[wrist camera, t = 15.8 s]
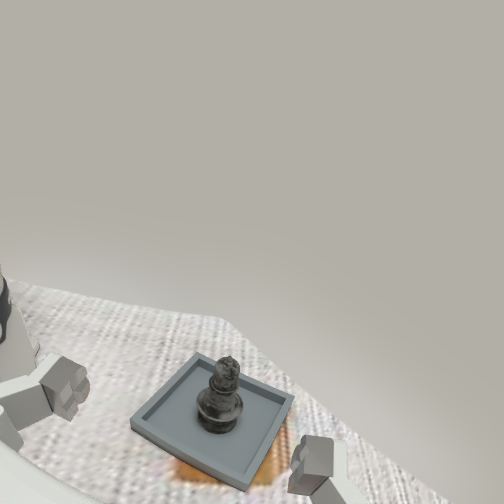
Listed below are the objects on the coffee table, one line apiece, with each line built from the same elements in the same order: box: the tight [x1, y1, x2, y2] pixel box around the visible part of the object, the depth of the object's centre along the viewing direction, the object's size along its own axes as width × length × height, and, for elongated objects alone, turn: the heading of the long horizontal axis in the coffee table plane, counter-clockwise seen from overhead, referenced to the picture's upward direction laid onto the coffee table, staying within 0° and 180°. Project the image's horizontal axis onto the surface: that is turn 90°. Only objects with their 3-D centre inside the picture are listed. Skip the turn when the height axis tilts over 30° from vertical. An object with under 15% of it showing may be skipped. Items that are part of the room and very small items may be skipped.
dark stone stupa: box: [196, 356, 243, 434], centre depth 36 cm, size 6×6×12 cm
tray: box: [130, 352, 295, 492], centre depth 38 cm, size 16×16×2 cm
